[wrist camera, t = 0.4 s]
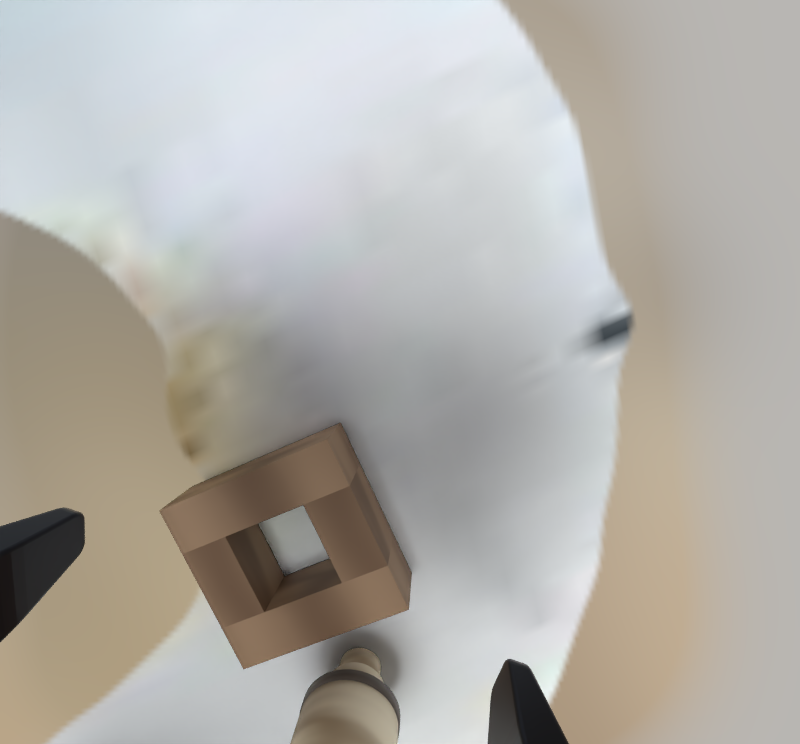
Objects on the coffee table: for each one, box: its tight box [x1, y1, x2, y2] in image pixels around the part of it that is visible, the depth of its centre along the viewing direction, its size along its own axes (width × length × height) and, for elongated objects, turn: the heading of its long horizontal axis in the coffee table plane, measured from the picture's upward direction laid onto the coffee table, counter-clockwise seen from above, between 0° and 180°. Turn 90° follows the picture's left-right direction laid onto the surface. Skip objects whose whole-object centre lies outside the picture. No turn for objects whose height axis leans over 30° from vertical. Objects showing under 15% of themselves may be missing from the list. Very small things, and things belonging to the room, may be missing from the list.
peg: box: [290, 648, 400, 744], centre depth 21 cm, size 5×5×9 cm
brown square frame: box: [160, 423, 412, 669], centre depth 23 cm, size 9×9×3 cm
